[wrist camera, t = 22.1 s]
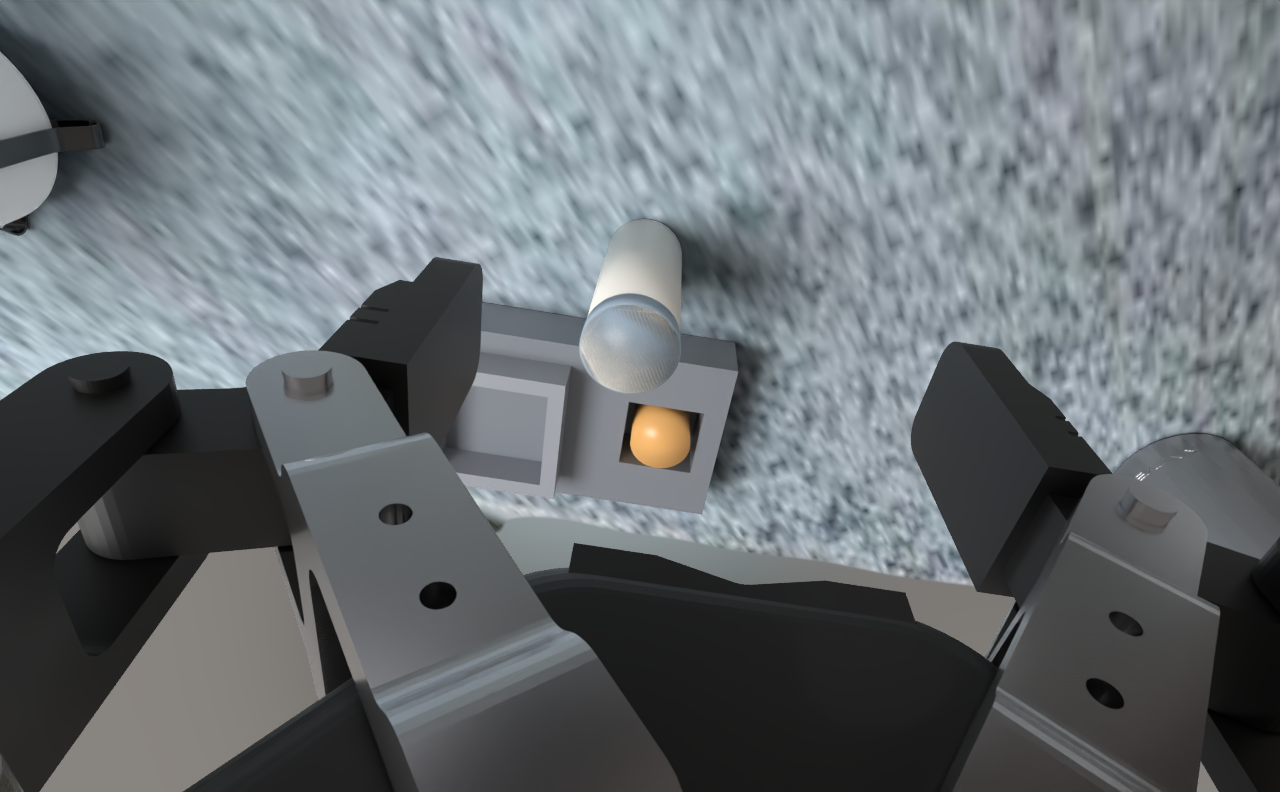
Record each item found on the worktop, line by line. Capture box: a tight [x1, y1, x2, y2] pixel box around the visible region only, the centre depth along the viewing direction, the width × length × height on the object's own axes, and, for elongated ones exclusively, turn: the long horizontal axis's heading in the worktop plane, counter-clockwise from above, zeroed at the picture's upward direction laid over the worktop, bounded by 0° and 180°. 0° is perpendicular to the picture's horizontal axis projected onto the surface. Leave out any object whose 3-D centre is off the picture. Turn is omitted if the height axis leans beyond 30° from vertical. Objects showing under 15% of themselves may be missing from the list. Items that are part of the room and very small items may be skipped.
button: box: [630, 403, 690, 468], centre depth 49 cm, size 4×4×4 cm
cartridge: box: [579, 219, 682, 394], centre depth 39 cm, size 5×5×13 cm
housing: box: [440, 302, 738, 514], centre depth 48 cm, size 20×12×6 cm, turn 82°
